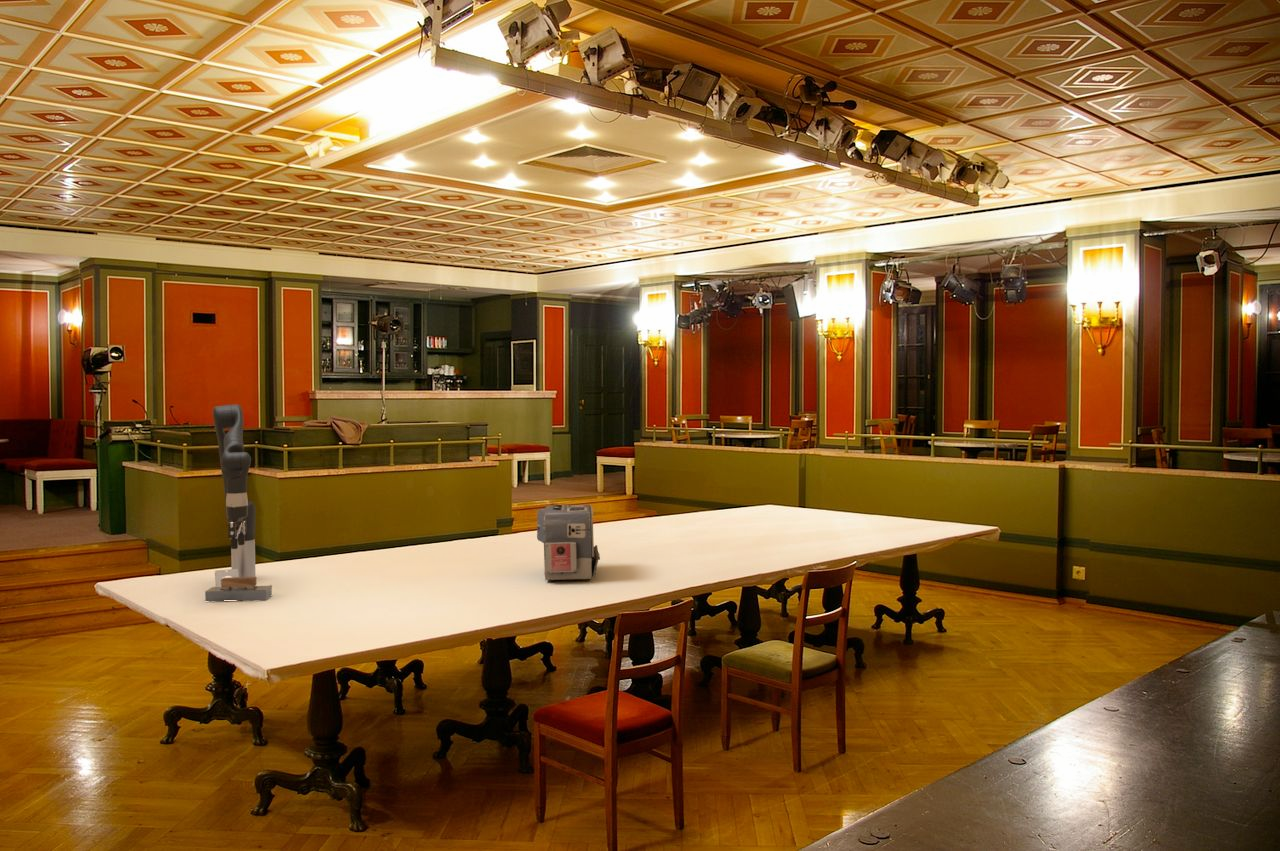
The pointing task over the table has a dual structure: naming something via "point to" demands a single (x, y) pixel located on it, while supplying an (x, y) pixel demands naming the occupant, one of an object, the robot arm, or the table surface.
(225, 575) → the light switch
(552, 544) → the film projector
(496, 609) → the table surface
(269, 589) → the grey slotted holder
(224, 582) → the brown u-shaped block
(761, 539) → the table surface
